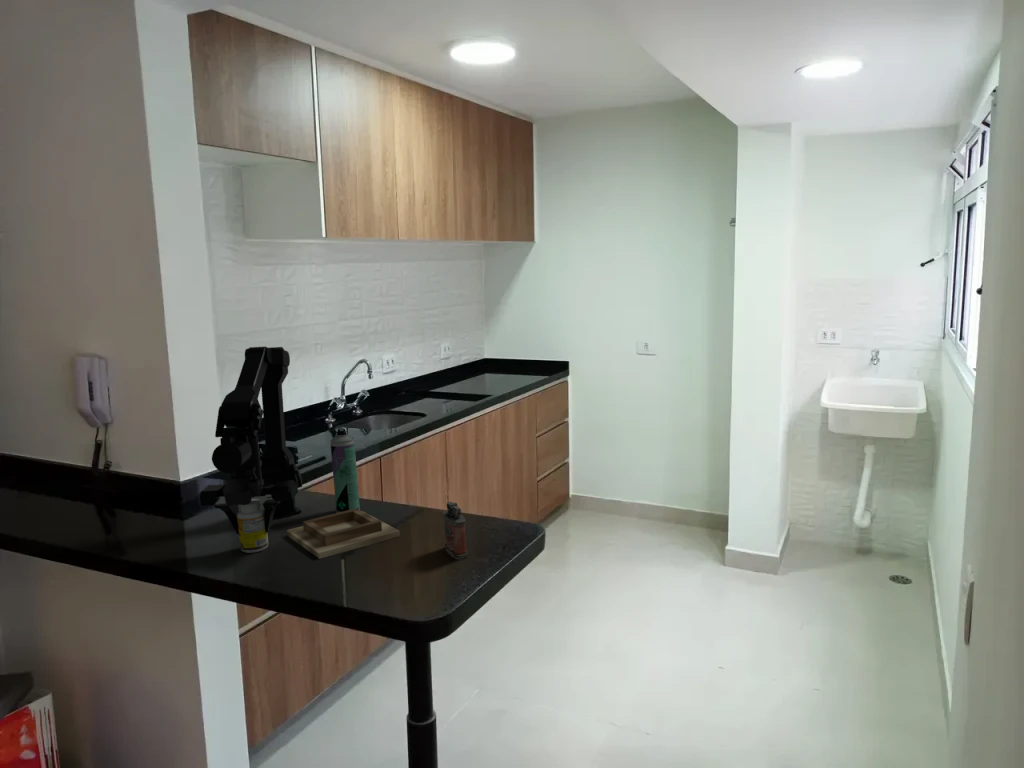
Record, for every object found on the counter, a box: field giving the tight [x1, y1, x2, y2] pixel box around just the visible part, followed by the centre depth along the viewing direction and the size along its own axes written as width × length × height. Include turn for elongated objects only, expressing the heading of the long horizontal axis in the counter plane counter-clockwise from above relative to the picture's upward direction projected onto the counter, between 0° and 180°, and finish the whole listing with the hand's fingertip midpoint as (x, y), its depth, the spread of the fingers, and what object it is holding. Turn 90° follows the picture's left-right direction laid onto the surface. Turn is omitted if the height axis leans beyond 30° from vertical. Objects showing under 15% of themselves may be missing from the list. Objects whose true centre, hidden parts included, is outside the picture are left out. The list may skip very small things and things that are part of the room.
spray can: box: [330, 427, 361, 513], centre depth 176 cm, size 6×6×20 cm
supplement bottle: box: [237, 498, 269, 554], centre depth 155 cm, size 6×6×10 cm
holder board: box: [286, 509, 401, 560], centre depth 160 cm, size 18×18×3 cm
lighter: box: [442, 501, 468, 558], centre depth 148 cm, size 8×3×10 cm, turn 23°
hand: (253, 532), depth 155 cm, fingers closed on supplement bottle, 6 cm apart
